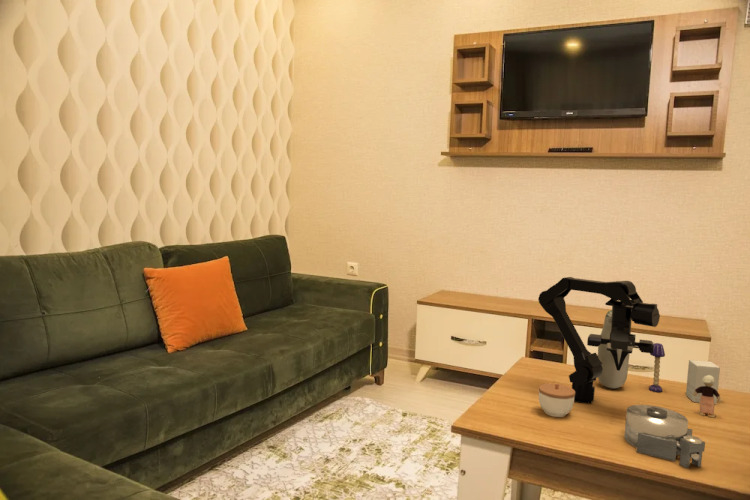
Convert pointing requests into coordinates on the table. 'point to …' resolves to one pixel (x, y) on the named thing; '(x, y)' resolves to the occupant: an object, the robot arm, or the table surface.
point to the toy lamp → (657, 366)
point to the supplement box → (701, 377)
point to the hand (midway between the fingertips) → (618, 370)
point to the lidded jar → (556, 399)
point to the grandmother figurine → (707, 396)
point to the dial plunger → (692, 455)
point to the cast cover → (654, 423)
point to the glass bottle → (611, 360)
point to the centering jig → (671, 447)
